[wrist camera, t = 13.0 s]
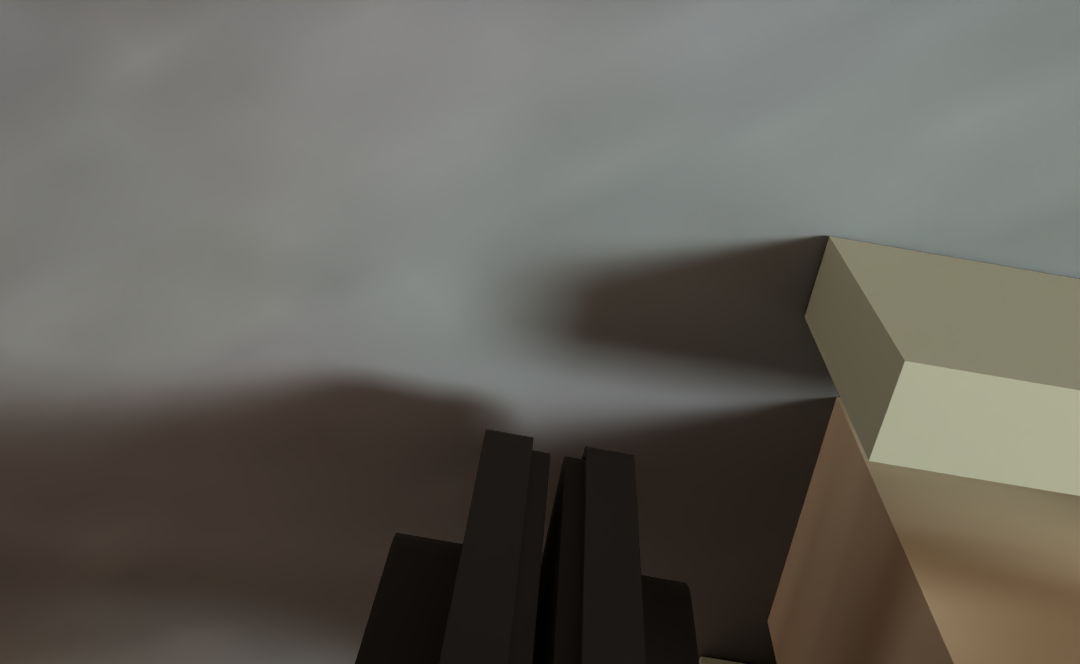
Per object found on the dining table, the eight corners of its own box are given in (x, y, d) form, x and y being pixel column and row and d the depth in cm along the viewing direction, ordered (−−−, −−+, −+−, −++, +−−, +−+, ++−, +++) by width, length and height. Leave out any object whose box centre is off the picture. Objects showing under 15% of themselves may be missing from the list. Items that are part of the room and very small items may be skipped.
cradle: (684, 709, 14) (705, 911, 11) (829, 235, 11) (905, 360, 8) (1165, 785, 14) (1298, 1003, 12) (1441, 340, 11) (1709, 496, 8)
